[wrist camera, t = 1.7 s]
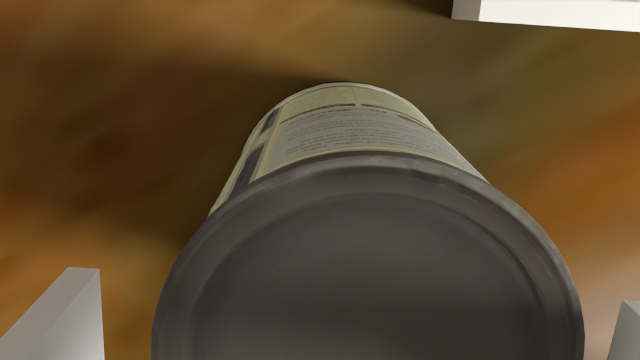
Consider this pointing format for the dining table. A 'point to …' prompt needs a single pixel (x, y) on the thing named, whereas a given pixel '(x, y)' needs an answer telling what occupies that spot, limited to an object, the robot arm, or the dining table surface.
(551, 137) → the dining table surface
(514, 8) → the bin
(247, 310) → the coffee can
